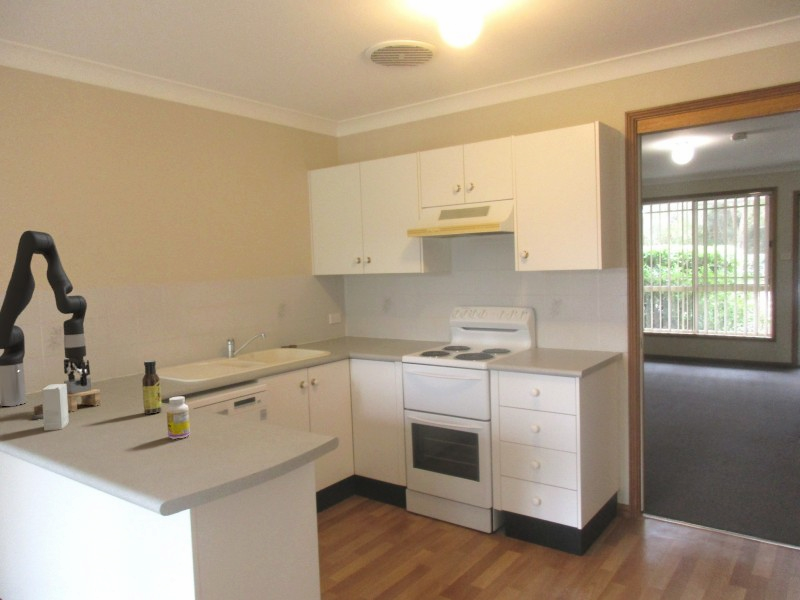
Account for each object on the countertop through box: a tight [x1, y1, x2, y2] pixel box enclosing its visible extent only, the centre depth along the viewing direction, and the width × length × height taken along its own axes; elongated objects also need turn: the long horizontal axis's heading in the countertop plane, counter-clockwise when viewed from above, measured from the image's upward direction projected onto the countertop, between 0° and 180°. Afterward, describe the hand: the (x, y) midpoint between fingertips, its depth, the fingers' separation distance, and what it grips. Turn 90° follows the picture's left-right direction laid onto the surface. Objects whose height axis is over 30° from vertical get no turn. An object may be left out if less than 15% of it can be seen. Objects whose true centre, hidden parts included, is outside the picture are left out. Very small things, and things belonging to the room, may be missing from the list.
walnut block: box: [33, 403, 43, 415], centre depth 227 cm, size 4×4×4 cm
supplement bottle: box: [166, 396, 191, 439], centre depth 190 cm, size 7×7×13 cm
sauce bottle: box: [141, 360, 163, 415], centre depth 224 cm, size 6×6×20 cm
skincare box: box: [41, 383, 69, 431], centre depth 208 cm, size 8×6×15 cm
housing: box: [63, 377, 92, 394], centre depth 238 cm, size 8×5×5 cm, turn 148°
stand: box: [67, 388, 101, 413], centre depth 238 cm, size 10×12×6 cm
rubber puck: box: [31, 414, 44, 421], centre depth 222 cm, size 4×4×2 cm
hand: (77, 385), depth 238 cm, fingers open, 8 cm apart
